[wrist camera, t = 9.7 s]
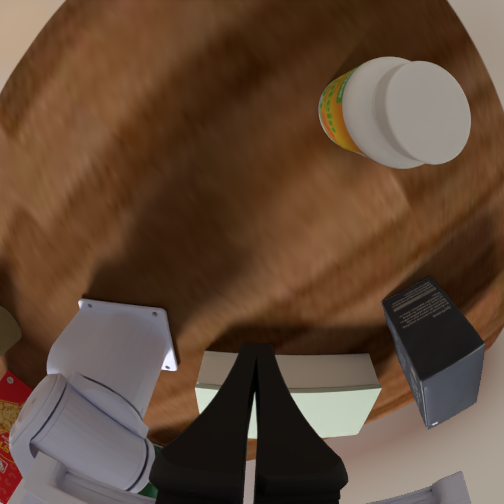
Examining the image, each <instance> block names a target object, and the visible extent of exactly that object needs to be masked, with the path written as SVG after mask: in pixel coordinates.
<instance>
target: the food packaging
mask: <svg viewBox="0 0 504 504" xmlns="http://www.w3.org/2000/svg"><path fill="white" fill-rule="evenodd" d="M32 392H33V390H32V389H31V388H30V387H29V386H27V385H26V384H25V383H24V382H22V381H21V380H20V379H19V378H17V377H16V376H15V375H14V374H13V373H11V372H10V371H9V370H8V371H7V372H6V374H5V375H4V376H3V378H2V379H1V381H0V502H1V503H3V504H7V503H8V501H9V499H10V498H11V496H12V494H13V493H14V491H15V490H16V488H17V486H18V485H19V483H20V482H21V480H22V478H23V477H22V475H21V473H20V471H19V469H18V467H17V465H16V463H15V461H14V459H13V457H12V455H11V453H10V449H9V435H10V431H11V428H12V426H13V424H14V423H15V421H16V420H17V418H18V416H19V413H20V411H21V409H22V407H23V406H24V404H25V402H26V401H27V399H28V398H29V396H30V395H31V393H32Z"/></svg>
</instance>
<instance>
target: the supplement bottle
mask: <svg viewBox="0 0 504 504" xmlns="http://www.w3.org/2000/svg"><path fill="white" fill-rule="evenodd" d="M319 118H320V122H321V125H322V127H323V129H324V131H325V132H326V134H327V135H328V136H329V138H330V139H331V140H332V141H333V142H335V143H336V144H337V145H339V146H341V147H342V148H344V149H347V150H349V151H352V152H354V153H357V154H359V155H362V156H364V157H367V158H369V159H371V160H374V161H375V162H378V163H380V164H383V165H385V166H389V167H392V168H400V169H406V168H413V167H417V166H420V165H422V164H424V163H427V164H442V163H445V162H448V161H450V160H452V159H453V158H455V157H456V156H457V155H458V154H459V153H460V152H461V151H462V149H463V148H464V146H465V144H466V142H467V140H468V137H469V133H470V126H471V116H470V109H469V104H468V101H467V98H466V96H465V94H464V92H463V90H462V88H461V86H460V85H459V83H458V82H457V81H456V79H455V78H454V77H453V76H452V75H451V74H450V73H449V72H447V71H446V70H445V69H443V68H441V67H440V66H438V65H436V64H433V63H430V62H425V61H413V62H411V61H409V60H406V59H403V58H399V57H380V58H375V59H372V60H370V61H367V62H365V63H363V64H361V65H360V66H358V67H356V68H354V69H353V70H351V71H349V72H347V73H345V74H344V75H342V76H340V77H338V78H336V79H335V80H333V81H332V82H331V83H330V84H329V85H328V86H327V87H326V88H325V90H324V91H323V93H322V95H321V98H320V102H319Z"/></svg>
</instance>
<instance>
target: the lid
mask: <svg viewBox="0 0 504 504" xmlns="http://www.w3.org/2000/svg"><path fill="white" fill-rule="evenodd" d="M220 387H221V386H217V385H207V384H198V383H196V385H195V391H196V396H197V402H198V407H199V412H200V414H201V413H202V411H203V410H204V409H205V408H206V407H207V406H208V404H209V403H210V402H211V400H212V399H213V398H214V396H215V395H216V394H217V392H218V391H219V389H220ZM381 389H382V387H381V385H380V384H376V385H366V386H354V387H339V388H315V389H288V390H289V392H290V394H291V396H292V397H293V399H294V401H295V403H296V404H297V406H298V408H299V409H300V411H301V412H302V414H303V415H304V417H305V418H306V420H307V421H308V423H309V424H310V425H311V426H312V428H313V429H314V430H315V431H316V433H317V434H318V435H319V436H320V437H321V438H323V437H335V436H347V435H356V434H358V432H359V431H360V429H361V427H362V425H363V423H364V422H365V420H366V418H367V416H368V414H369V412H370V410H371V409H372V407H373V405H374V403H375V401H376V399H377V397H378V395H379V393H380V391H381ZM248 438H257V422H256V402H255V395H254V401H253V407H252V413H251V419H250V425H249V431H248Z"/></svg>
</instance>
